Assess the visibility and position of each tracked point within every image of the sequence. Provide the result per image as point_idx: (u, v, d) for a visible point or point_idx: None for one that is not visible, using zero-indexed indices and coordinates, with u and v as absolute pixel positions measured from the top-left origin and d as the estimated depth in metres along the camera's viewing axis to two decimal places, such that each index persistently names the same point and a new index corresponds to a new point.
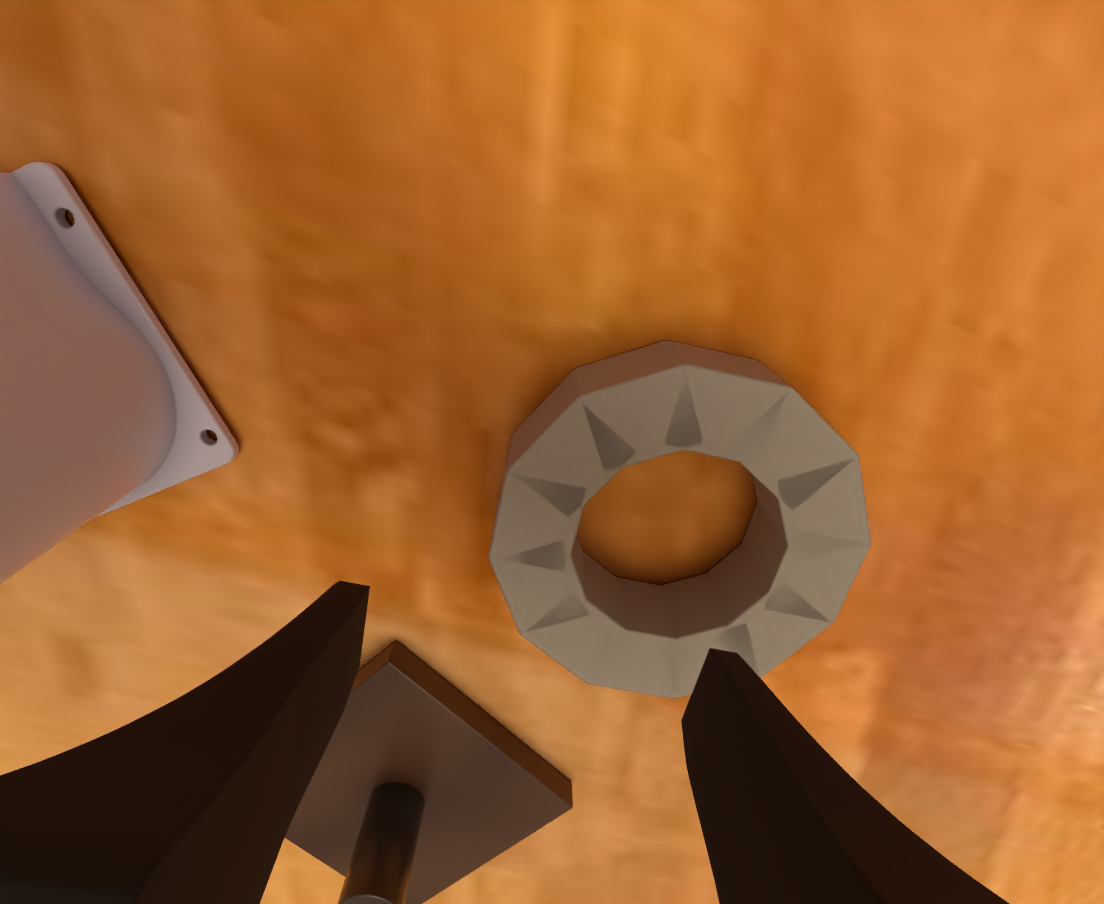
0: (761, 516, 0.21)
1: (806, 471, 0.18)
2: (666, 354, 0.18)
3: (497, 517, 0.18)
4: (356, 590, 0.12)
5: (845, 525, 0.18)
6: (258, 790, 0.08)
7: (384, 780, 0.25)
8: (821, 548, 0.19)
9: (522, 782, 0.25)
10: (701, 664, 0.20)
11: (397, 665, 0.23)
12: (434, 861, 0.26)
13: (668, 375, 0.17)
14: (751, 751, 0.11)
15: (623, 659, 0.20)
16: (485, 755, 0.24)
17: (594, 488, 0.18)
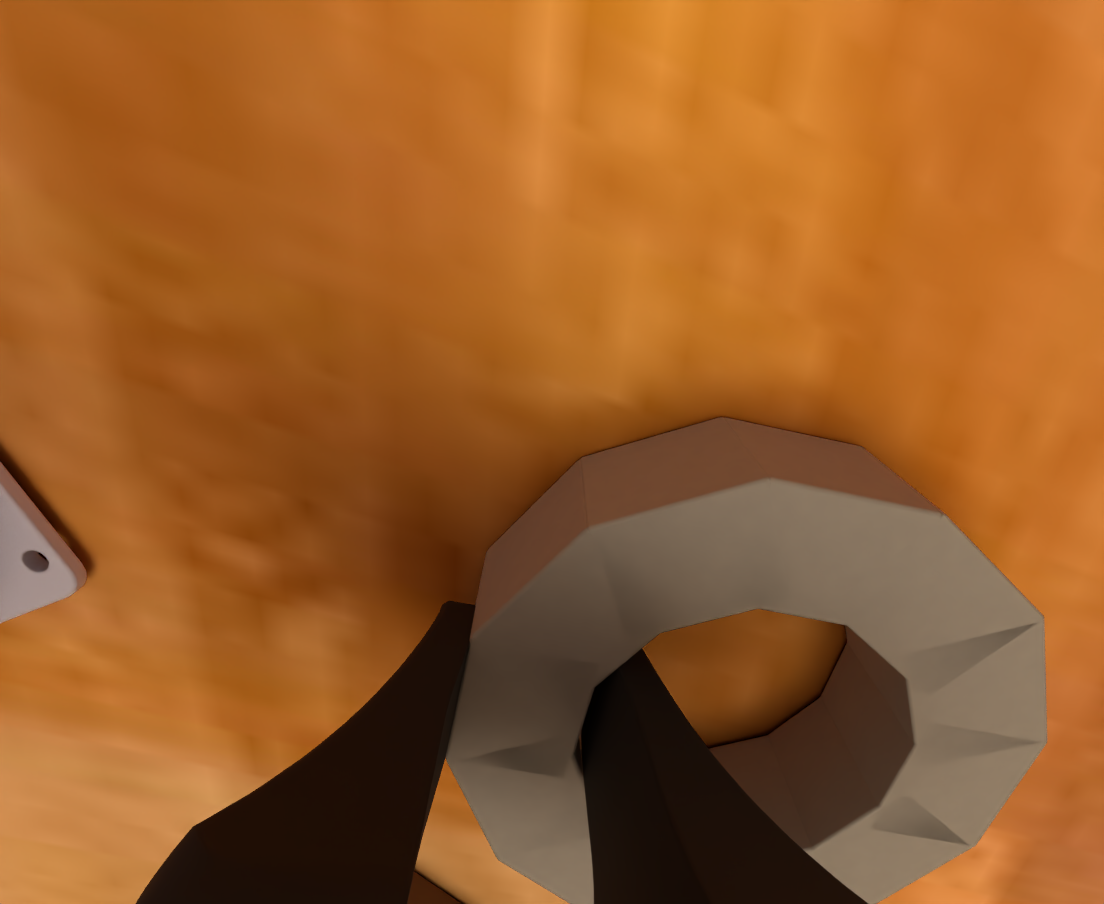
0: (856, 670, 0.14)
1: (956, 640, 0.11)
2: (728, 449, 0.11)
3: (457, 703, 0.12)
4: (468, 611, 0.12)
5: (1010, 717, 0.12)
6: None
7: None
8: (968, 748, 0.12)
9: None
10: None
11: None
12: None
13: (738, 496, 0.10)
14: (624, 729, 0.10)
15: None
16: None
17: (612, 664, 0.11)
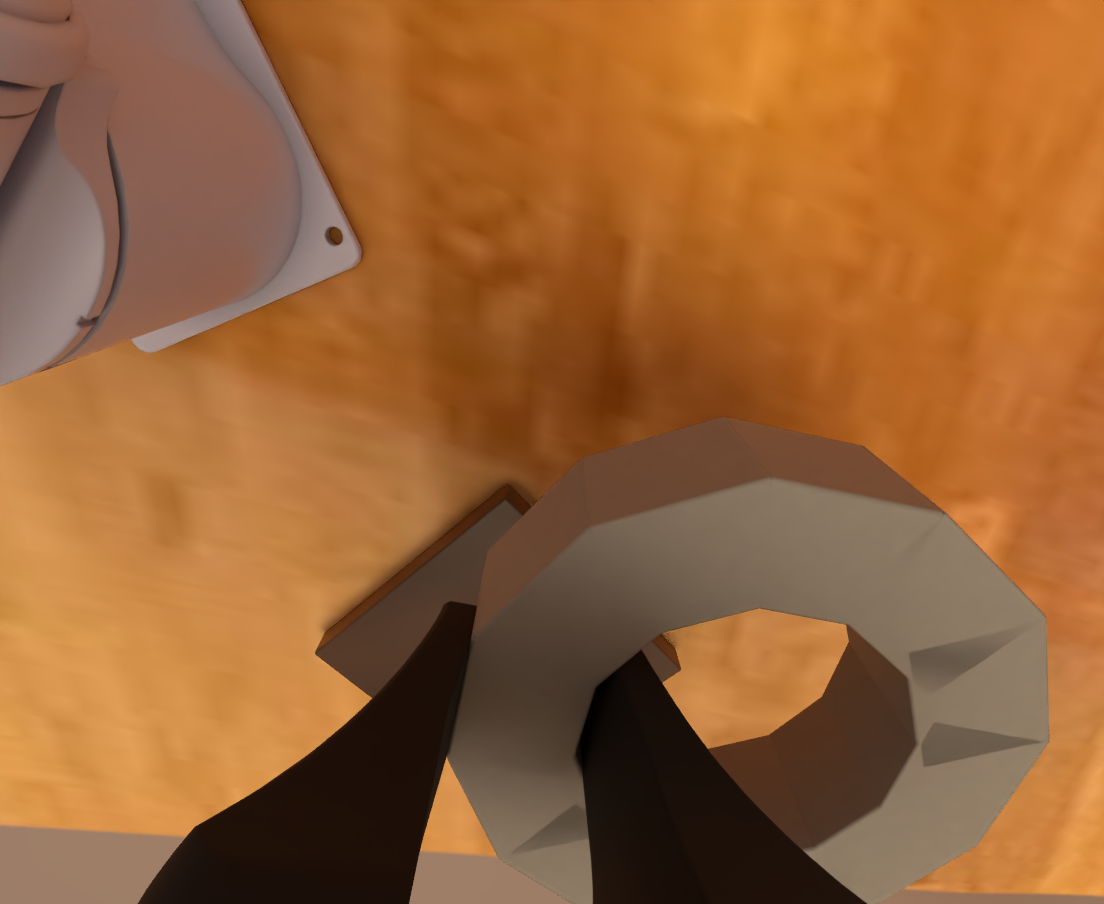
0: (858, 669, 0.14)
1: (958, 640, 0.11)
2: (729, 449, 0.11)
3: (459, 703, 0.12)
4: (469, 611, 0.12)
5: (1011, 716, 0.11)
6: None
7: None
8: (969, 748, 0.12)
9: None
10: None
11: (513, 504, 0.22)
12: None
13: (740, 496, 0.10)
14: (623, 729, 0.10)
15: None
16: None
17: (613, 663, 0.11)
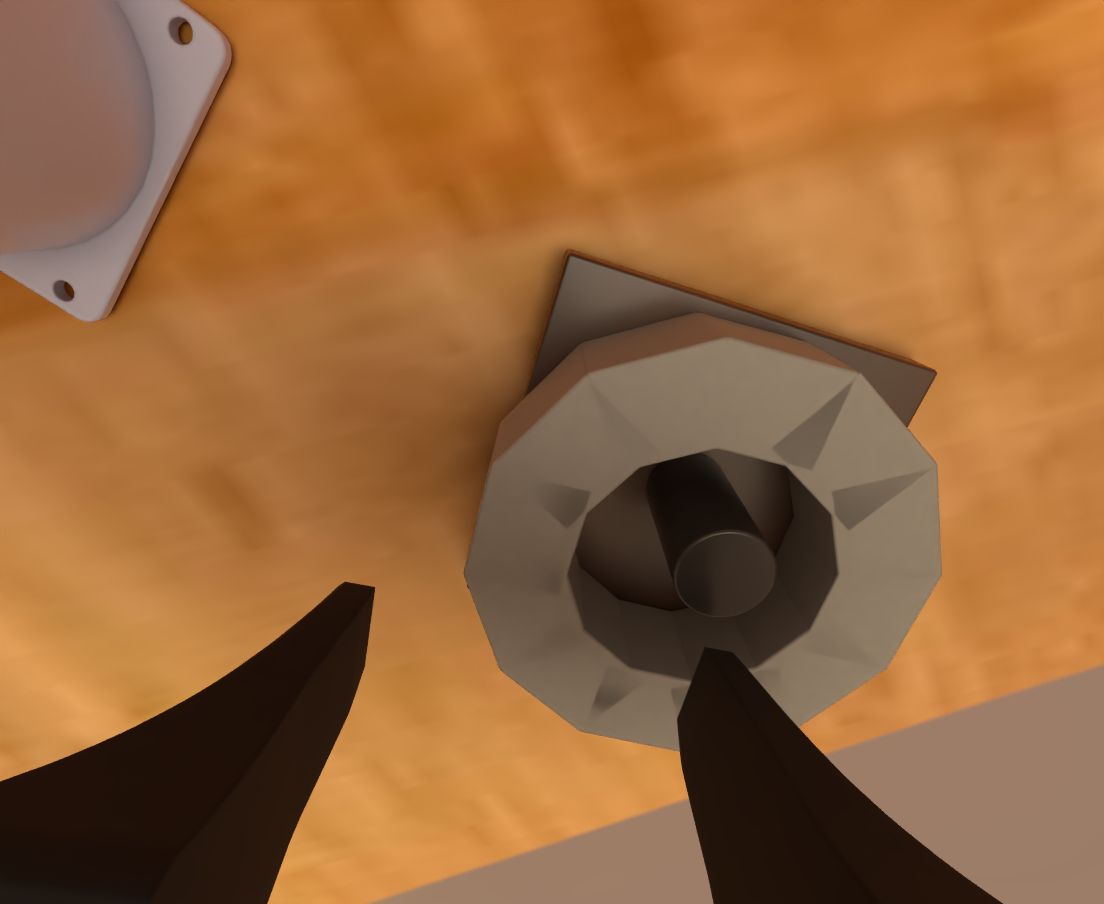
0: (799, 534, 0.17)
1: (870, 482, 0.14)
2: (699, 326, 0.14)
3: (477, 524, 0.14)
4: (362, 591, 0.12)
5: (912, 551, 0.15)
6: (267, 791, 0.08)
7: None
8: (879, 578, 0.15)
9: None
10: None
11: (583, 258, 0.15)
12: None
13: (704, 351, 0.13)
14: (745, 750, 0.11)
15: (625, 704, 0.16)
16: None
17: (601, 492, 0.14)
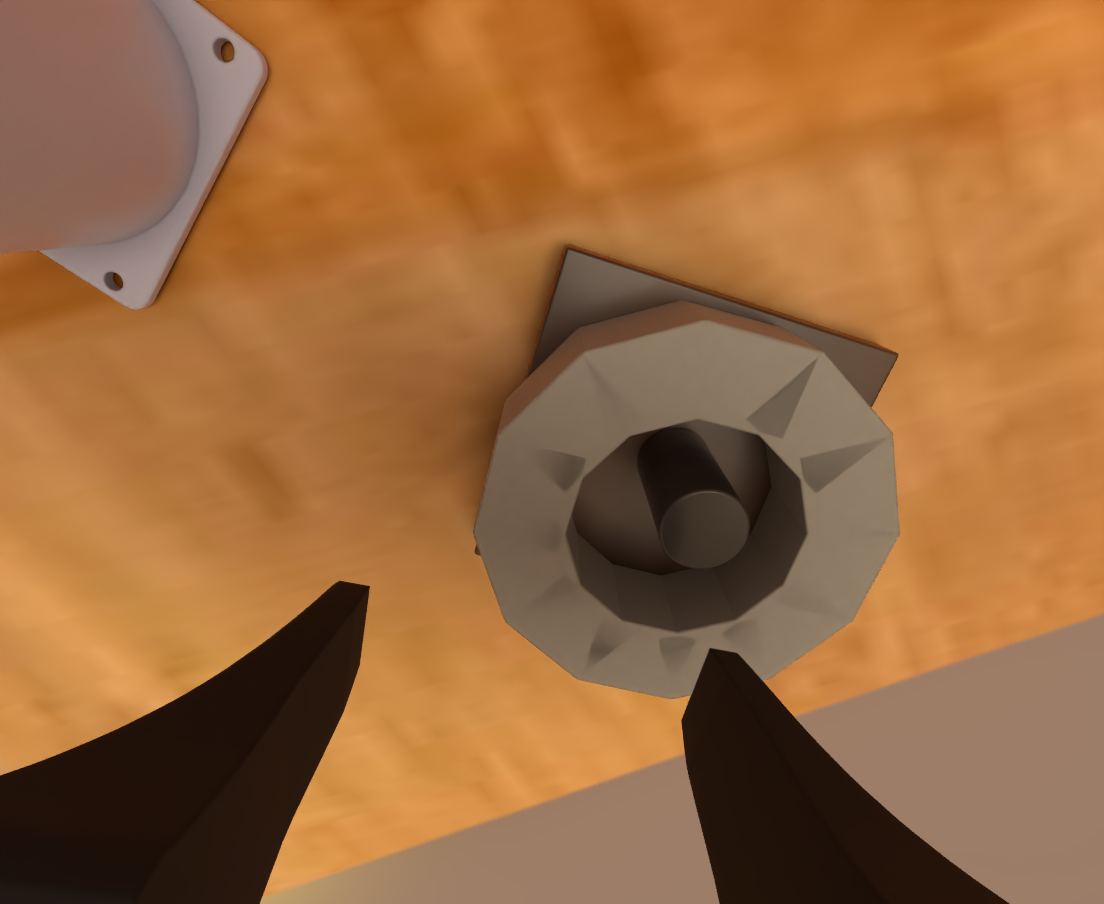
0: (776, 502, 0.19)
1: (833, 449, 0.16)
2: (682, 312, 0.16)
3: (485, 488, 0.16)
4: (356, 590, 0.12)
5: (872, 512, 0.16)
6: (258, 790, 0.08)
7: (643, 436, 0.19)
8: (844, 537, 0.17)
9: None
10: None
11: (580, 251, 0.17)
12: None
13: (685, 332, 0.15)
14: (751, 751, 0.11)
15: (618, 654, 0.18)
16: None
17: (595, 459, 0.16)
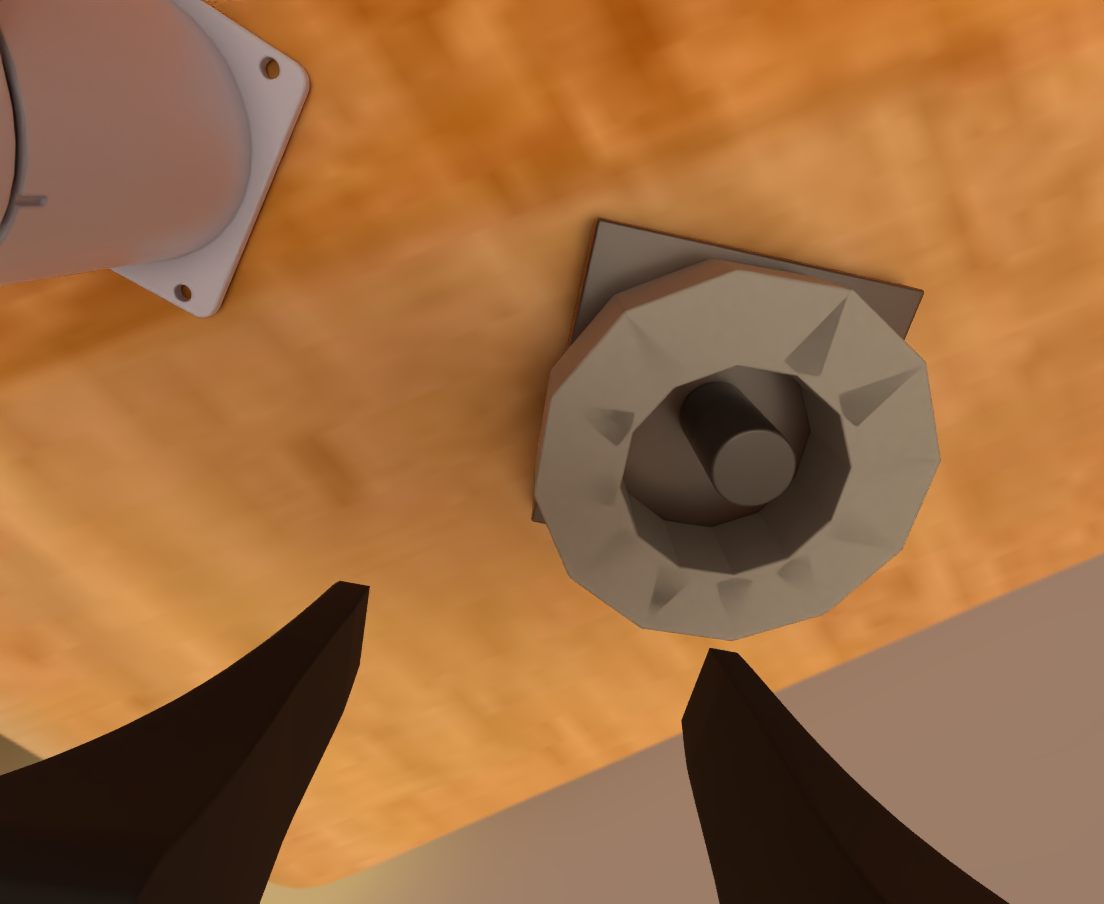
0: (817, 445, 0.20)
1: (869, 383, 0.17)
2: (713, 267, 0.17)
3: (542, 449, 0.17)
4: (356, 590, 0.12)
5: (912, 441, 0.17)
6: (258, 790, 0.08)
7: (684, 393, 0.20)
8: (887, 468, 0.17)
9: None
10: (761, 602, 0.19)
11: (611, 222, 0.18)
12: None
13: (719, 283, 0.16)
14: (751, 751, 0.11)
15: (678, 600, 0.19)
16: None
17: (643, 412, 0.17)
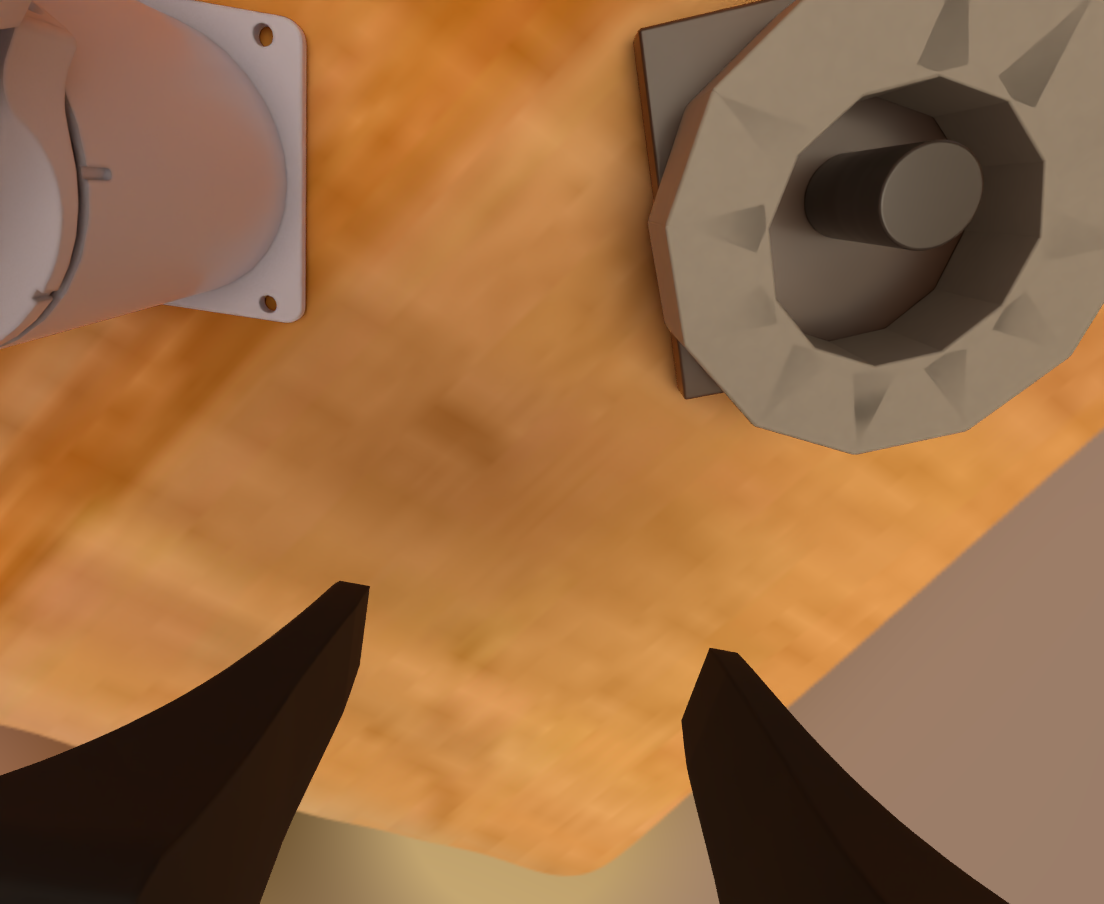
0: None
1: (1033, 44, 0.13)
2: (790, 5, 0.14)
3: (676, 291, 0.15)
4: (356, 591, 0.12)
5: None
6: (258, 790, 0.08)
7: (801, 186, 0.17)
8: (1091, 142, 0.14)
9: None
10: (986, 371, 0.16)
11: (653, 27, 0.16)
12: None
13: (809, 3, 0.13)
14: (751, 751, 0.11)
15: (887, 406, 0.16)
16: None
17: (773, 199, 0.14)
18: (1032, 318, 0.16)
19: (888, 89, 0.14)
